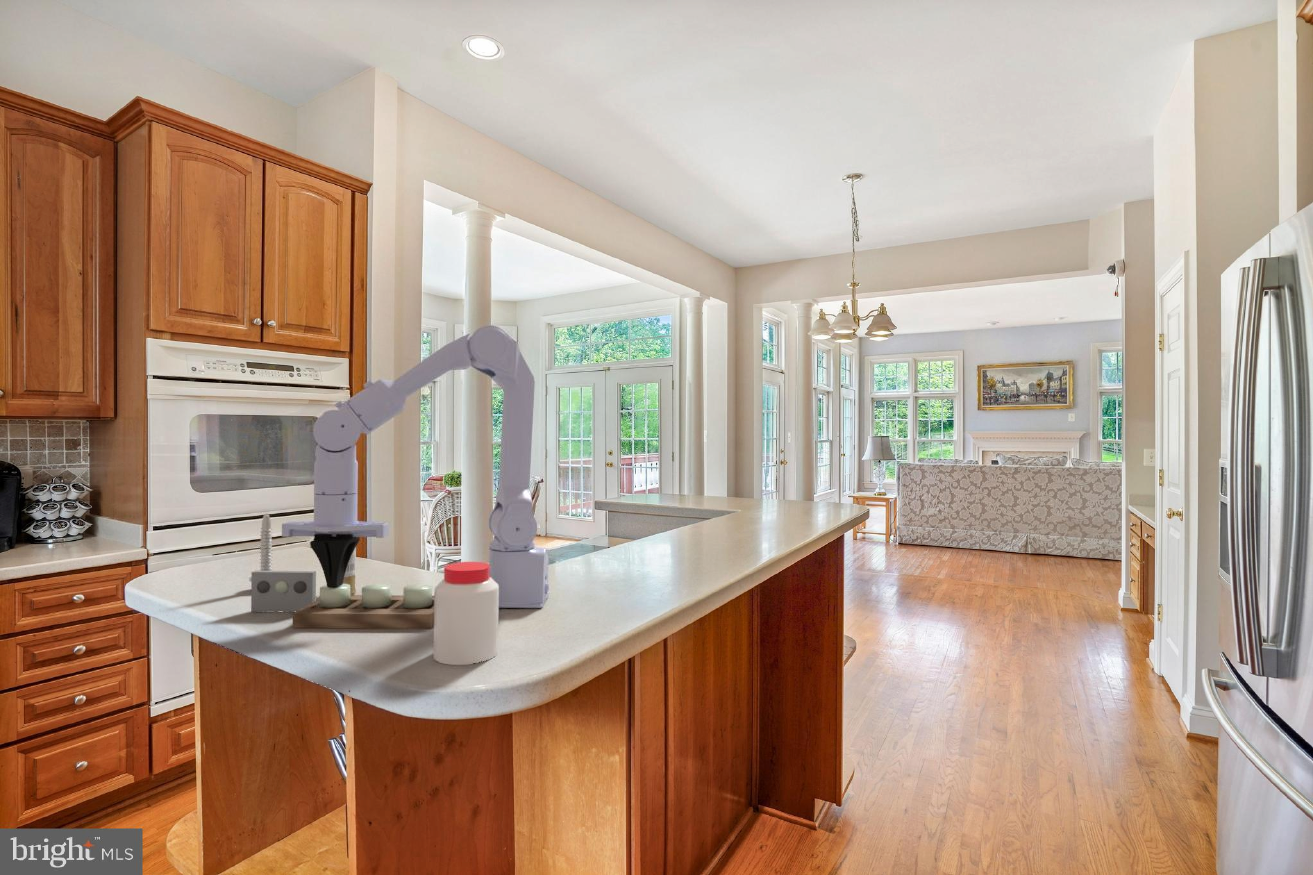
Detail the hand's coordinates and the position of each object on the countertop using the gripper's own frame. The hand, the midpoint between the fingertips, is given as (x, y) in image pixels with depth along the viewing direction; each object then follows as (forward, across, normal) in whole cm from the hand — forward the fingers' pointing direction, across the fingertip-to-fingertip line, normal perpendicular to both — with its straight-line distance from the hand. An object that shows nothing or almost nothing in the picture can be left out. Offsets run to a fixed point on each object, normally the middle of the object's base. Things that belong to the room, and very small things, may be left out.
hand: (335, 585), depth 94 cm
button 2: (+3, +12, 0) cm, 12 cm away
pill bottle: (+5, +23, -15) cm, 28 cm away
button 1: (+3, 0, 0) cm, 3 cm away
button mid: (+3, +6, 0) cm, 7 cm away
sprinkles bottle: (+5, -5, +13) cm, 15 cm away
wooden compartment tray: (+5, +6, 0) cm, 8 cm away
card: (+5, -9, +3) cm, 11 cm away
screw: (+5, -19, +16) cm, 25 cm away
